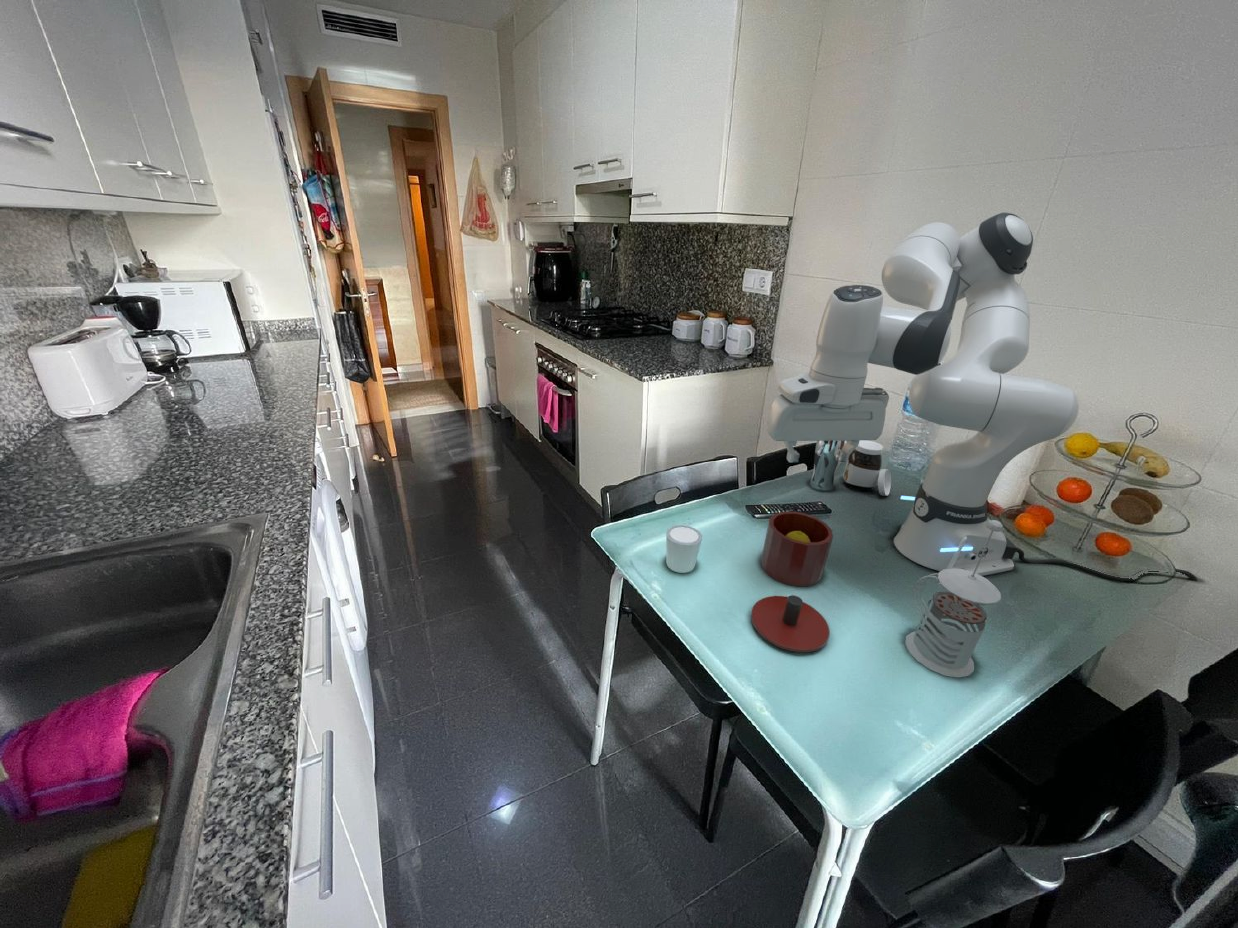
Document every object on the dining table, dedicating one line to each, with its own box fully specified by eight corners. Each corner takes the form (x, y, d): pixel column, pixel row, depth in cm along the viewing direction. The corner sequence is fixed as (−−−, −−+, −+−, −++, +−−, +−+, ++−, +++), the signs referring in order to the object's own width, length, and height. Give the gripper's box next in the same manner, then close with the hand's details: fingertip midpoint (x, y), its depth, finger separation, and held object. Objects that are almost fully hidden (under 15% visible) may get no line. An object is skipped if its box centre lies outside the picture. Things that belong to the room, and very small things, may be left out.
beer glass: (802, 485, 132) (815, 432, 126) (813, 477, 137) (826, 426, 130) (828, 494, 128) (842, 441, 121) (838, 486, 133) (853, 434, 126)
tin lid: (791, 594, 92) (798, 569, 90) (844, 642, 82) (853, 615, 79) (735, 611, 87) (740, 585, 85) (784, 664, 77) (791, 636, 74)
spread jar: (840, 474, 139) (850, 435, 134) (883, 480, 137) (895, 441, 132) (845, 493, 129) (857, 452, 124) (893, 501, 126) (906, 460, 121)
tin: (805, 549, 105) (815, 511, 101) (832, 585, 95) (844, 544, 91) (752, 550, 104) (760, 511, 100) (773, 587, 94) (783, 545, 89)
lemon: (807, 576, 96) (816, 541, 93) (778, 571, 97) (786, 537, 94) (804, 559, 101) (812, 526, 98) (776, 555, 102) (783, 521, 99)
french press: (947, 685, 75) (1011, 547, 64) (882, 632, 84) (929, 504, 74) (988, 666, 79) (1056, 533, 68) (922, 617, 88) (972, 493, 77)
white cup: (657, 557, 100) (660, 528, 97) (686, 550, 103) (690, 522, 100) (673, 578, 95) (677, 547, 92) (704, 570, 97) (709, 540, 94)
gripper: (880, 382, 88) (861, 452, 95) (770, 381, 86) (757, 454, 92) (902, 393, 83) (880, 467, 89) (785, 393, 81) (770, 469, 87)
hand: (816, 460), depth 91 cm, fingers open, 8 cm apart
